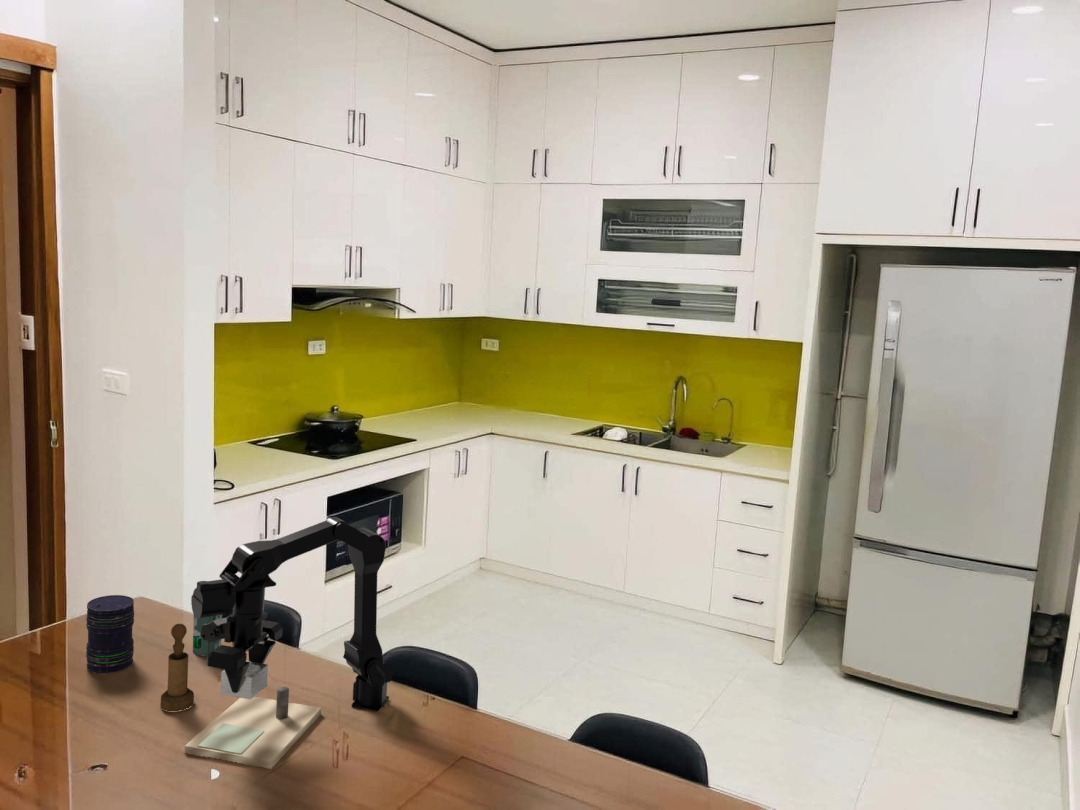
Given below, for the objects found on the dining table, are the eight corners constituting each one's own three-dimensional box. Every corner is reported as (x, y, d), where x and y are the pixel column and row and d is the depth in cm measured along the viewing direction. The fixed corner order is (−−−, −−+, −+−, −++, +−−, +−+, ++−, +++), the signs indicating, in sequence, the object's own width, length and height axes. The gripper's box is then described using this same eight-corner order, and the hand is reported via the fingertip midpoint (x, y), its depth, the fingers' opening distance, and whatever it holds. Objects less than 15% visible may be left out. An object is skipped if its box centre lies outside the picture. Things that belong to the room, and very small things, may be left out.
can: (197, 644, 213) (199, 586, 211) (223, 645, 214) (224, 587, 212) (190, 655, 207) (191, 595, 205) (216, 656, 208) (218, 596, 206)
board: (321, 714, 184) (322, 681, 183) (270, 769, 163) (272, 731, 162) (243, 701, 187) (244, 668, 186) (184, 753, 166) (185, 716, 165)
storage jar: (119, 651, 207) (120, 591, 205) (142, 664, 201) (143, 603, 199) (77, 664, 198) (77, 602, 196) (99, 678, 193) (100, 614, 191)
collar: (266, 685, 173) (268, 664, 173) (250, 699, 167) (251, 677, 166) (237, 680, 174) (238, 659, 174) (220, 693, 168) (221, 671, 167)
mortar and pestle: (181, 715, 180) (183, 633, 177) (153, 709, 181) (155, 628, 179) (200, 700, 186) (201, 621, 184) (173, 695, 188) (174, 616, 185)
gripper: (236, 588, 179) (232, 660, 181) (183, 619, 161) (179, 698, 163) (285, 596, 177) (281, 669, 179) (237, 628, 159) (233, 708, 161)
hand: (244, 685), depth 170 cm, fingers closed on collar, 6 cm apart
